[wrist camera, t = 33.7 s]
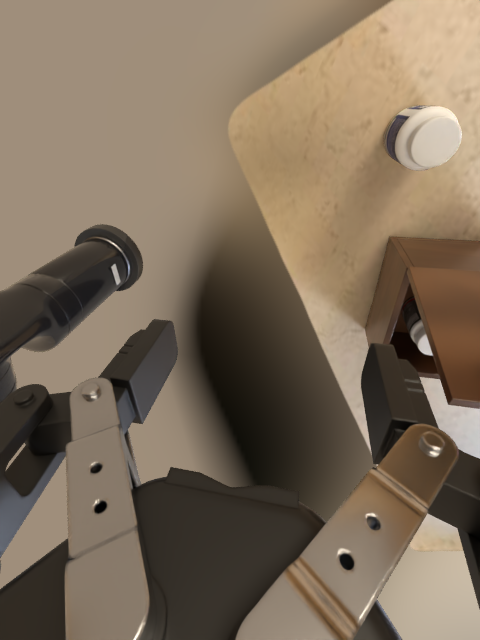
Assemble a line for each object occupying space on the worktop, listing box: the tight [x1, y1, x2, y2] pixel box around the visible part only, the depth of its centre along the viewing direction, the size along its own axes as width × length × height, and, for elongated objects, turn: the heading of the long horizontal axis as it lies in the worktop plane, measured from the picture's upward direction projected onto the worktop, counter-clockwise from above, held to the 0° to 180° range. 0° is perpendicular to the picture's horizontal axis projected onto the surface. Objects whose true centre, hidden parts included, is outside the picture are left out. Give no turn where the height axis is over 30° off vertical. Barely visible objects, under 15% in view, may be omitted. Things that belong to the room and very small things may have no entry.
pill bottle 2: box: [401, 297, 432, 355], centre depth 43 cm, size 5×5×8 cm
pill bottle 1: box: [384, 105, 462, 171], centre depth 31 cm, size 5×5×10 cm
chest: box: [365, 237, 480, 379], centre depth 41 cm, size 16×13×10 cm
